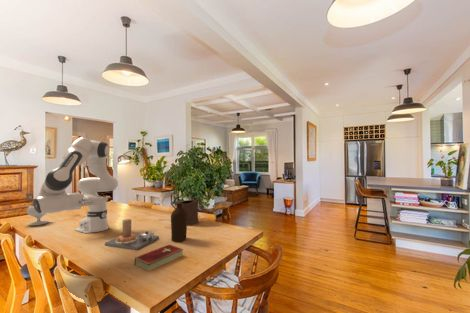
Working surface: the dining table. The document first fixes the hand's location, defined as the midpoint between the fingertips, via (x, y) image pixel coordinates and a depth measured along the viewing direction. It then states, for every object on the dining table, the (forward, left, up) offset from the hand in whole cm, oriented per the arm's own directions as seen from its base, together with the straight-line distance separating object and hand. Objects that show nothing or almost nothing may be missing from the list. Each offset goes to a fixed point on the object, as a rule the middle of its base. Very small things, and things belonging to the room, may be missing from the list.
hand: (103, 197), depth 125 cm
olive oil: (+34, +27, -30) cm, 53 cm away
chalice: (-93, +24, -30) cm, 101 cm away
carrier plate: (+8, +15, -30) cm, 34 cm away
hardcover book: (+40, -1, -31) cm, 50 cm away
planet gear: (+5, +13, -28) cm, 31 cm away
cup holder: (+18, +63, -30) cm, 72 cm away
